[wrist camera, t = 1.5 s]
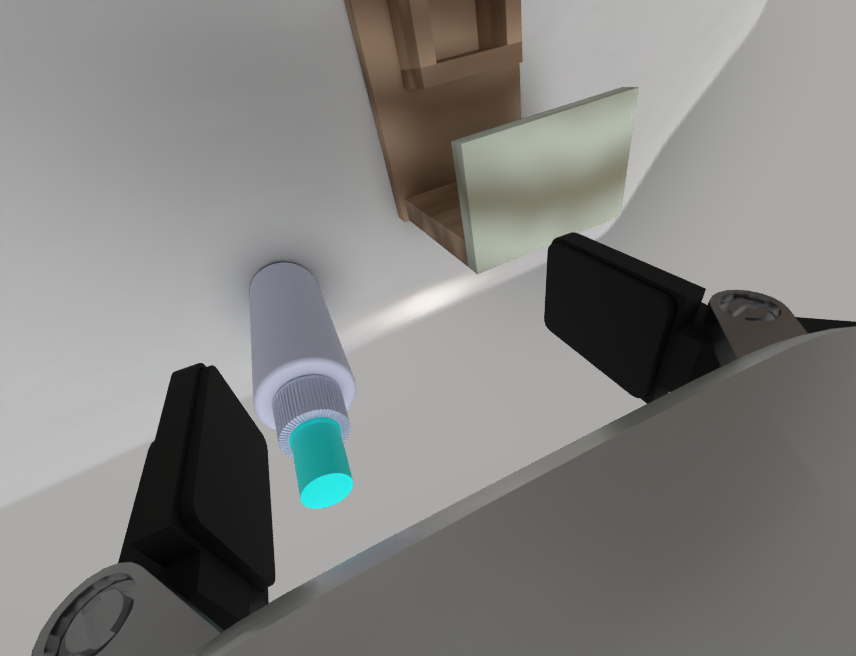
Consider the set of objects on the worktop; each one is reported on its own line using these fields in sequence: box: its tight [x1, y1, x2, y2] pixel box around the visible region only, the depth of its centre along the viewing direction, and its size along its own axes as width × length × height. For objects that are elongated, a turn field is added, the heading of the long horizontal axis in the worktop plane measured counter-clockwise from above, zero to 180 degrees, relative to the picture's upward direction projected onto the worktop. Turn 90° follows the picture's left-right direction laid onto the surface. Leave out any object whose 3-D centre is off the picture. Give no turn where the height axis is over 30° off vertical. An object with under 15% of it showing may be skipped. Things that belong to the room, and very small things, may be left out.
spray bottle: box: [249, 263, 356, 509], centre depth 26 cm, size 6×6×22 cm
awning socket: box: [345, 0, 638, 274], centre depth 25 cm, size 18×13×14 cm
